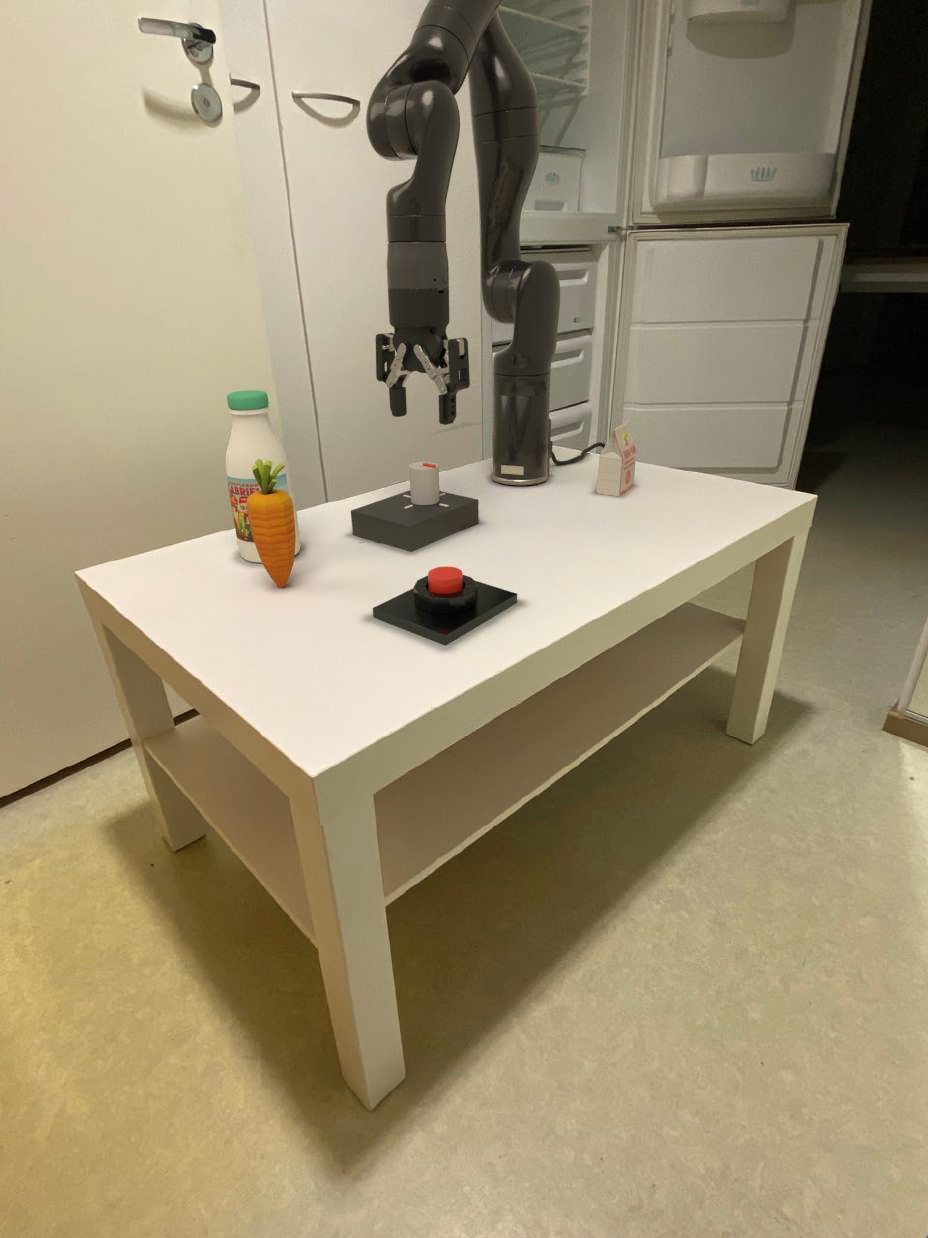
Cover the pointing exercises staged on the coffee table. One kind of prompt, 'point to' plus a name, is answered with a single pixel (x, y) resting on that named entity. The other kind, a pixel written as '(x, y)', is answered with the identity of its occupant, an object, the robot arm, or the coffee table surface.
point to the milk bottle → (253, 463)
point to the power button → (445, 580)
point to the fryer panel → (414, 520)
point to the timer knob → (424, 483)
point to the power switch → (444, 609)
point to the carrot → (272, 523)
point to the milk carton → (617, 463)
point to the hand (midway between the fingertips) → (422, 419)
